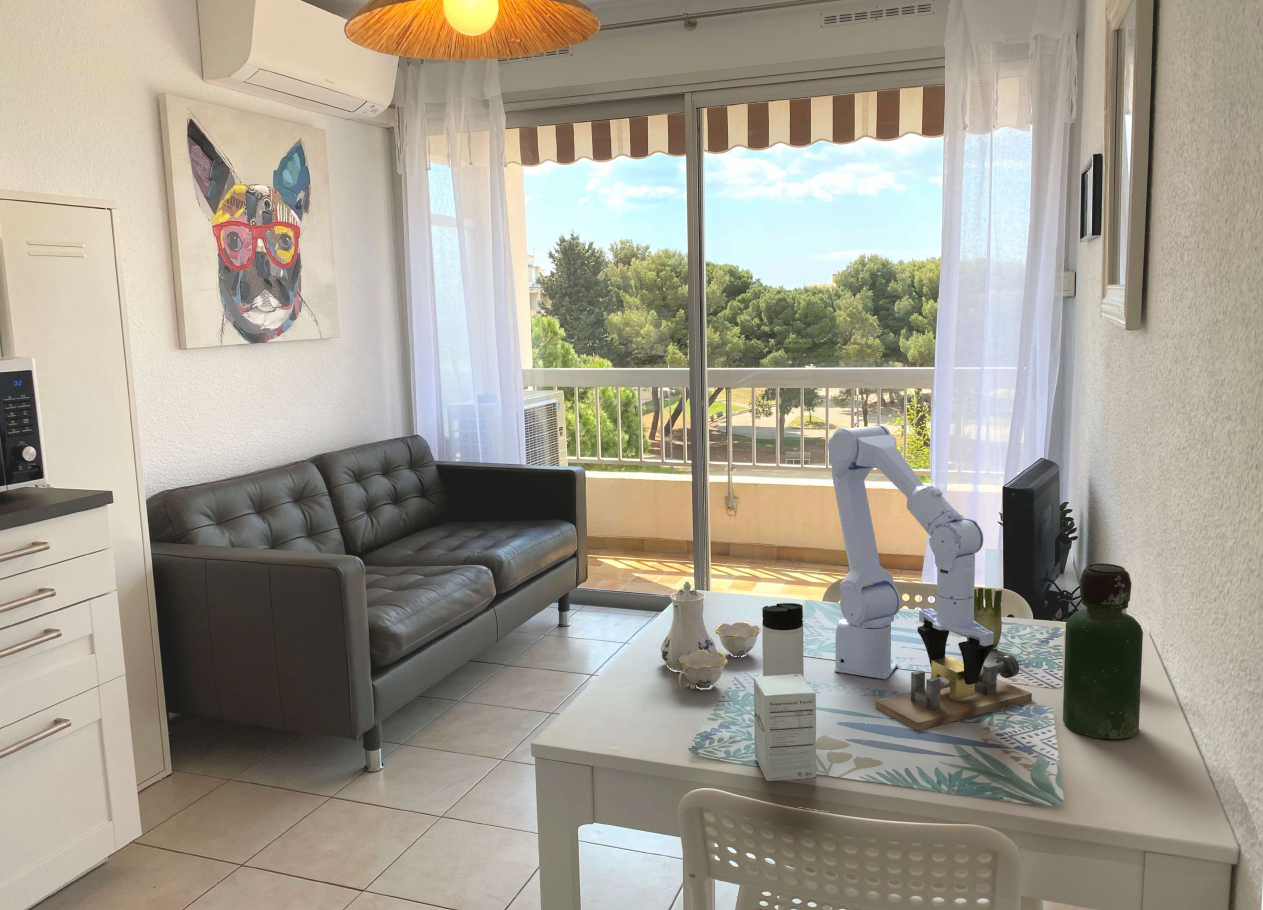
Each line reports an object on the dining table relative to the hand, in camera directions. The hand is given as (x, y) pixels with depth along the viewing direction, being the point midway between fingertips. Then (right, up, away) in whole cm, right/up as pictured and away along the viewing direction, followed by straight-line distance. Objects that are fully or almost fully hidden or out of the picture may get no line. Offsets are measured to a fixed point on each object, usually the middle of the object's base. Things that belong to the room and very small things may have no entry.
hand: (954, 675), depth 155 cm
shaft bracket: (0, -5, +1) cm, 5 cm away
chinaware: (-39, -4, +21) cm, 44 cm away
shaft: (+4, -2, +2) cm, 5 cm away
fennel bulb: (+14, -1, +26) cm, 30 cm away
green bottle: (+19, -6, -10) cm, 22 cm away
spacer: (0, -3, 0) cm, 3 cm away
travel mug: (-29, -7, -6) cm, 30 cm away
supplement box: (-31, -9, -20) cm, 38 cm away
